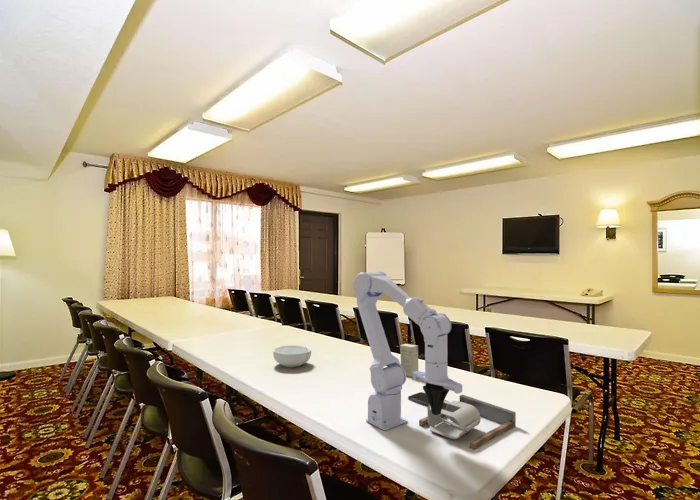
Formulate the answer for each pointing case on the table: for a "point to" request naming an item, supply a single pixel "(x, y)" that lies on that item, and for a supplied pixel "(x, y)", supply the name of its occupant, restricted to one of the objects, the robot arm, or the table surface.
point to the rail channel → (489, 412)
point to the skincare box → (409, 358)
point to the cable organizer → (454, 419)
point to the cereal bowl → (292, 355)
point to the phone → (422, 399)
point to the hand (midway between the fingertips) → (436, 413)
